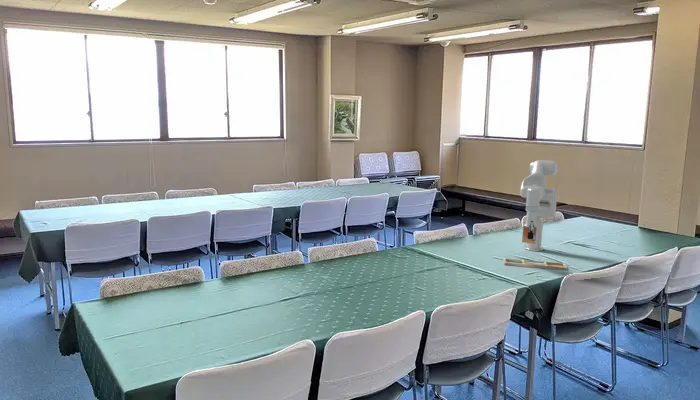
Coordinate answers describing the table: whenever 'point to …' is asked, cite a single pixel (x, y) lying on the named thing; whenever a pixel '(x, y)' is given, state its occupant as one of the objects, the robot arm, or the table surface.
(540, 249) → the robot arm
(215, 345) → the table surface
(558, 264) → the rail frame
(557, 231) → the table surface
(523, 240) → the small box
